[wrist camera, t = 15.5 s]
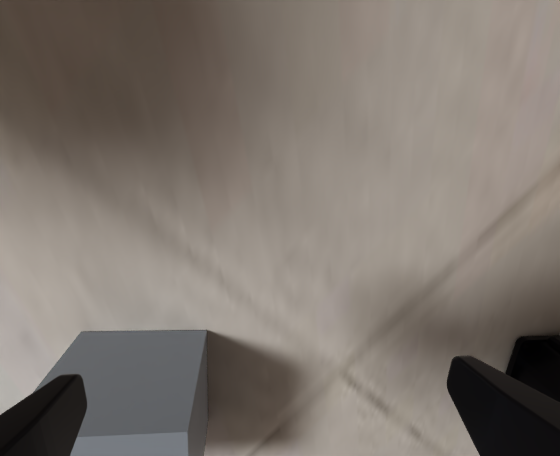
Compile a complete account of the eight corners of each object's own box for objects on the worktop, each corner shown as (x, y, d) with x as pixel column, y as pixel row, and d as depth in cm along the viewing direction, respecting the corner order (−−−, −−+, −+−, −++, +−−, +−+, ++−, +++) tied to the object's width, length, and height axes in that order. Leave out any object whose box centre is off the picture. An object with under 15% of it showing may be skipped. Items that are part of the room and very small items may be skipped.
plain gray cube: (208, 420, 23) (191, 546, 16) (95, 425, 22) (28, 560, 15) (206, 330, 21) (187, 431, 14) (81, 331, 20) (-6, 441, 13)
